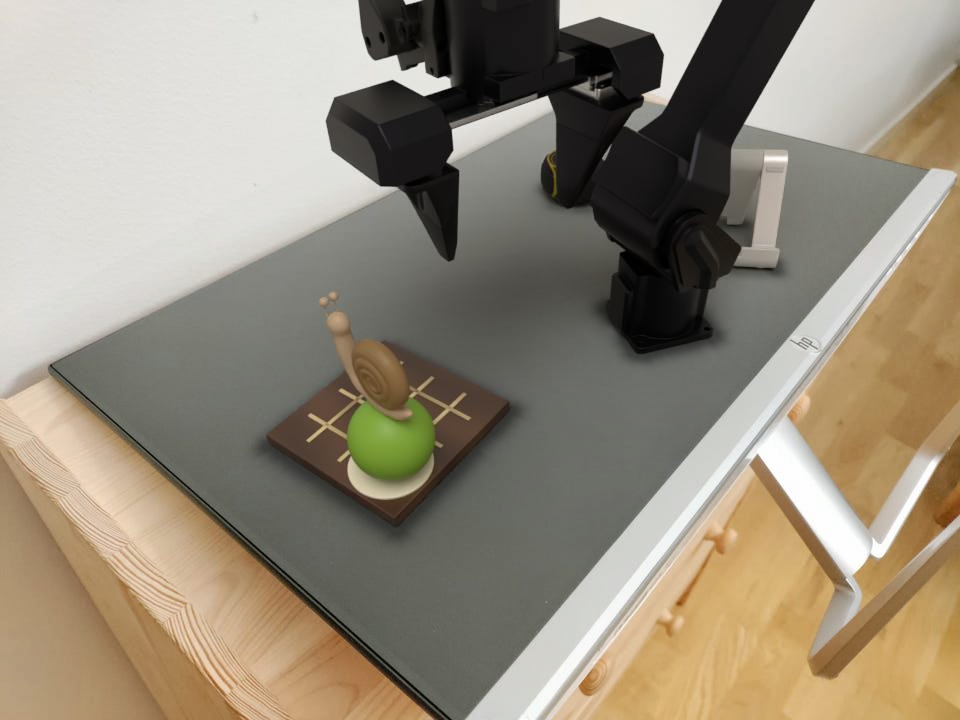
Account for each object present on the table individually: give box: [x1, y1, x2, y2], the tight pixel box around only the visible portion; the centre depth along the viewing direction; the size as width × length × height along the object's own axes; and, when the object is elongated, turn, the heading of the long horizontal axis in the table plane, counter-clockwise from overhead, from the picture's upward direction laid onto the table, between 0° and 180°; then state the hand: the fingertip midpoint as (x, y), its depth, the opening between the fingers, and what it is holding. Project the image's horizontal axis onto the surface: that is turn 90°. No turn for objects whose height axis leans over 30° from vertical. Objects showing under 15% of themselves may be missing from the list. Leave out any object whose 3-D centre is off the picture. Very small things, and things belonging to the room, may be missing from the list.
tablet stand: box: [720, 148, 789, 269], centre depth 61 cm, size 9×8×8 cm
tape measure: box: [540, 149, 605, 203], centre depth 71 cm, size 7×7×4 cm
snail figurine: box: [318, 291, 435, 481], centre depth 42 cm, size 5×6×12 cm
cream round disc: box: [348, 453, 434, 500], centre depth 46 cm, size 6×6×1 cm
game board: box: [265, 339, 510, 527], centre depth 49 cm, size 12×12×1 cm
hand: (508, 230), depth 44 cm, fingers open, 9 cm apart
